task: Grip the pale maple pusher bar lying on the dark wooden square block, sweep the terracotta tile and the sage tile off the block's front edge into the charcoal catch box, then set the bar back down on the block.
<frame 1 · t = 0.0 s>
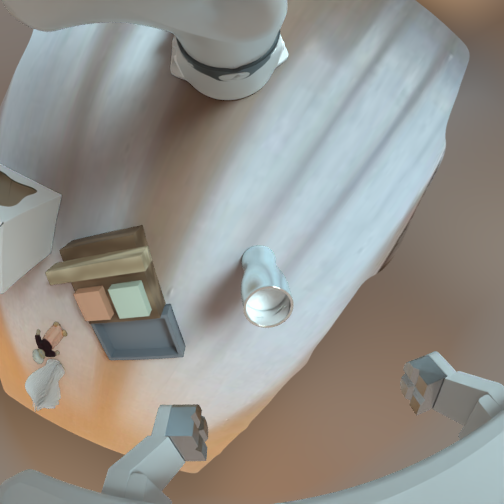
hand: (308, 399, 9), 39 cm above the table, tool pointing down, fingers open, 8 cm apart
beer glass: (258, 260, 50), on the table
catch box: (139, 329, 54), on the table
sage tile: (131, 297, 45), point 5 cm above the table, touching dark wooden square block
shell sculpture: (58, 364, 58), on the table
pusher bar: (98, 261, 42), point 5 cm above the table, touching dark wooden square block
dark wooden square block: (116, 272, 49), on the table
gable box: (21, 205, 42), on the table
grandmother figurine: (58, 327, 53), on the table
terracotta tile: (95, 301, 45), point 5 cm above the table, touching dark wooden square block
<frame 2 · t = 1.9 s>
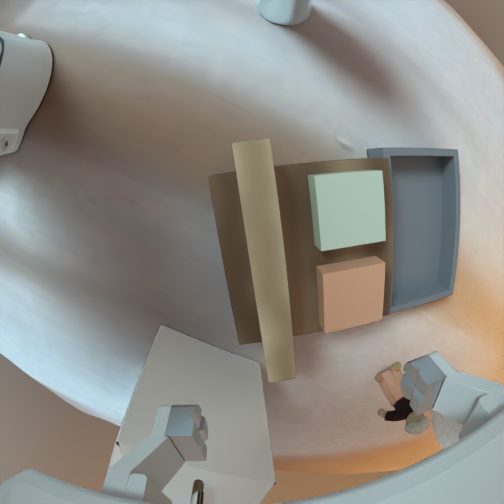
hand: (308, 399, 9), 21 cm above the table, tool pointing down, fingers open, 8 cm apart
beer glass: (282, 7, 21), on the table
catch box: (411, 224, 29), on the table
sage tile: (344, 206, 23), point 5 cm above the table, touching dark wooden square block
shell sculpture: (435, 385, 39), on the table
pusher bar: (264, 263, 24), point 5 cm above the table, touching dark wooden square block
dark wooden square block: (302, 241, 29), on the table
gable box: (183, 395, 35), on the table
grandmother figurine: (384, 373, 36), on the table
terracotta tile: (347, 290, 25), point 5 cm above the table, touching dark wooden square block
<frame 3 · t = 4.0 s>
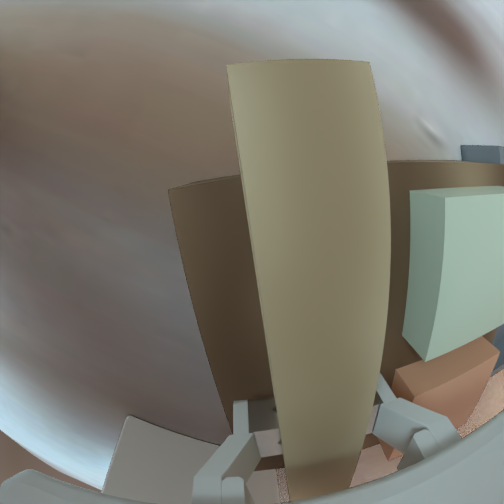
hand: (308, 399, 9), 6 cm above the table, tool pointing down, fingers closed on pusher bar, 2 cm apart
catch box: (499, 263, 15), on the table
sage tile: (460, 257, 9), point 5 cm above the table, touching dark wooden square block
pusher bar: (302, 378, 10), point 5 cm above the table, touching gripper, dark wooden square block
dark wooden square block: (359, 304, 15), on the table
gable box: (171, 479, 21), on the table
terracotta tile: (430, 390, 12), point 5 cm above the table, touching dark wooden square block
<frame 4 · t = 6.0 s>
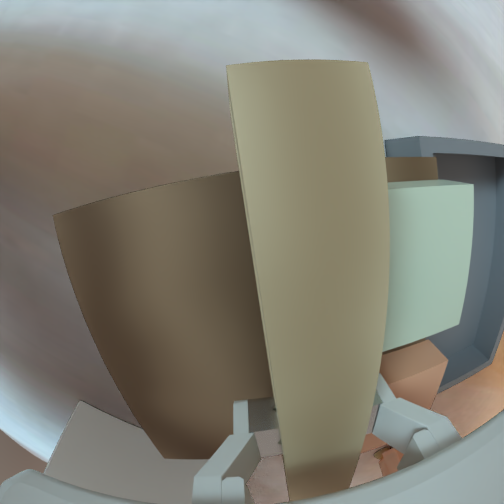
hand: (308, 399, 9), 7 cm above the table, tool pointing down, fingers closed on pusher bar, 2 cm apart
catch box: (449, 269, 16), on the table
sage tile: (389, 257, 10), point 5 cm above the table, touching pusher bar
pusher bar: (301, 378, 10), point 6 cm above the table, touching gripper, sage tile
dark wooden square block: (263, 309, 16), on the table
gable box: (129, 466, 22), on the table
grandmother figurine: (386, 448, 23), on the table
terracotta tile: (374, 395, 13), point 5 cm above the table, touching dark wooden square block
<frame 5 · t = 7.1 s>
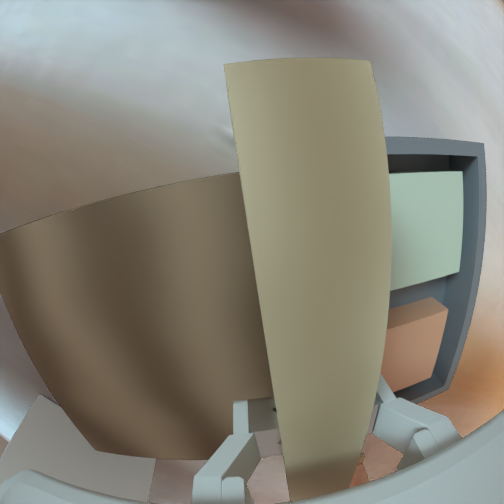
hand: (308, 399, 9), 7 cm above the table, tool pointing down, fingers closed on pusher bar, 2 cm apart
catch box: (387, 286, 16), on the table
sage tile: (427, 229, 12), point 3 cm above the table, tilted 180°, touching catch box
pusher bar: (302, 379, 10), point 6 cm above the table, touching gripper
dark wooden square block: (171, 322, 16), on the table
gable box: (91, 460, 22), on the table
grandmother figurine: (341, 464, 23), on the table
terracotta tile: (405, 359, 15), point 3 cm above the table, tilted 180°, touching catch box
when the fingers open (7 cm above the table, at t = 9.6 s): pusher bar stays where it is, resting on dark wooden square block.
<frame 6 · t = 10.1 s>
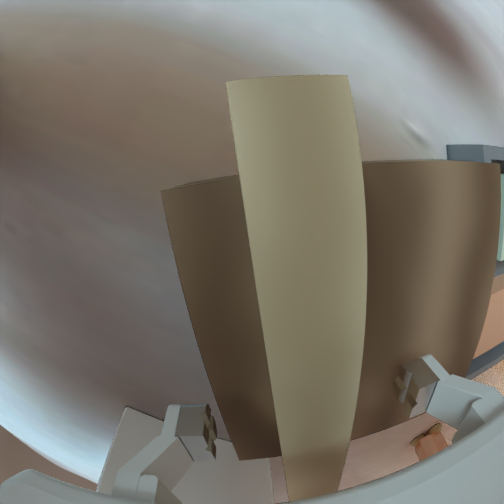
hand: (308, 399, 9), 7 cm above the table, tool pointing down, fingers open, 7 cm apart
catch box: (488, 260, 16), on the table
pusher bar: (296, 363, 11), point 5 cm above the table, touching dark wooden square block
dark wooden square block: (345, 298, 16), on the table
gable box: (168, 472, 22), on the table
grandmother figurine: (421, 436, 23), on the table
terracotta tile: (502, 318, 15), point 3 cm above the table, tilted 180°, touching catch box
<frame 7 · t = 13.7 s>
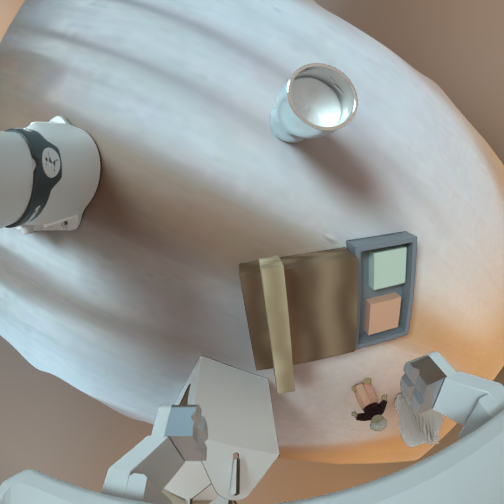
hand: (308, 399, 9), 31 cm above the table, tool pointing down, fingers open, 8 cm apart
beer glass: (291, 122, 35), on the table
catch box: (377, 287, 43), on the table
sage tile: (390, 268, 39), point 3 cm above the table, tilted 180°, touching catch box
shell sculpture: (403, 395, 53), on the table
pusher bar: (276, 324, 38), point 5 cm above the table, touching dark wooden square block
dark wooden square block: (298, 303, 43), on the table
gable box: (212, 401, 49), on the table
grandmother figurine: (359, 386, 50), on the table
terracotta tile: (385, 316, 41), point 3 cm above the table, tilted 180°, touching catch box
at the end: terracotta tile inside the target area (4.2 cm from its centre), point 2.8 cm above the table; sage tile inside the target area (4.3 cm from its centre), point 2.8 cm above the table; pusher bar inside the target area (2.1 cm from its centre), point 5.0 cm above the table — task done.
